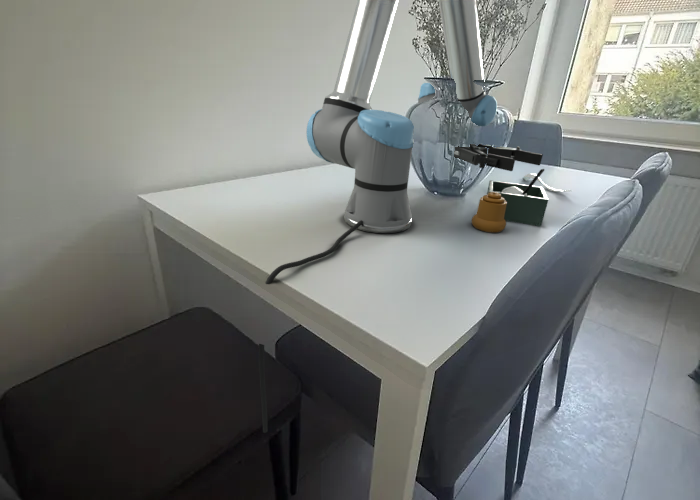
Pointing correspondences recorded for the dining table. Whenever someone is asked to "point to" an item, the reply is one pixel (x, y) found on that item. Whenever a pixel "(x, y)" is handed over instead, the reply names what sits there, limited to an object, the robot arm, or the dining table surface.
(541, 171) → the cocoa
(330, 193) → the dining table surface
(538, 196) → the bin
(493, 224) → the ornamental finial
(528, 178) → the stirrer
